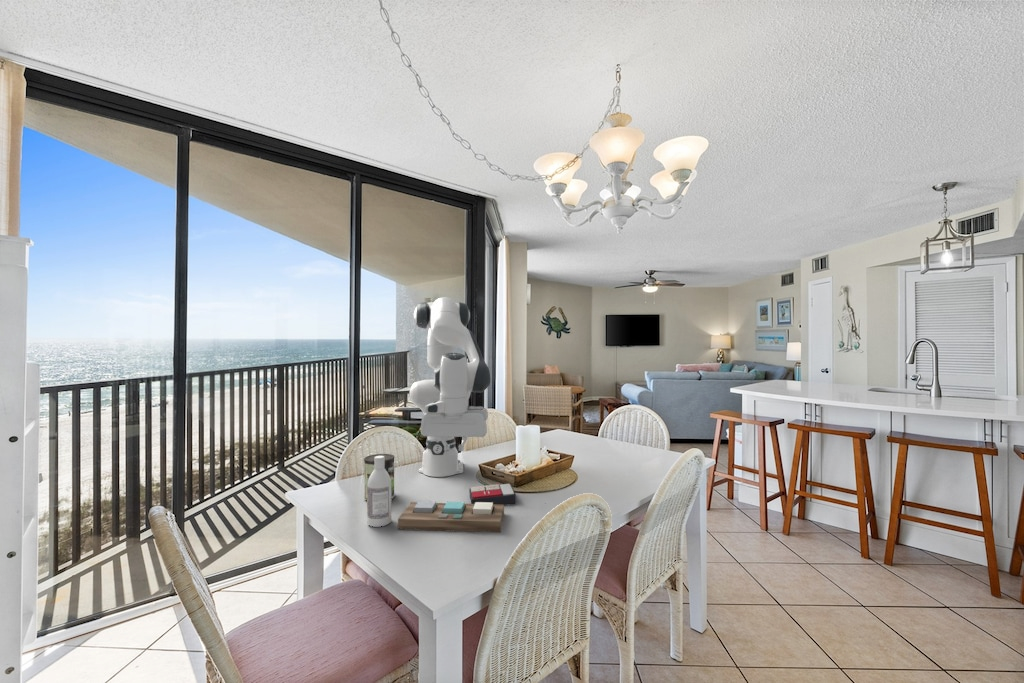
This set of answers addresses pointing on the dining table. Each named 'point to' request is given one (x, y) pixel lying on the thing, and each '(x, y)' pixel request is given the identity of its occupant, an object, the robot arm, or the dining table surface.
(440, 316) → the robot arm
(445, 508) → the teal key
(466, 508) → the keypad
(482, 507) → the cream key
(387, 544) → the dining table surface
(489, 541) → the dining table surface
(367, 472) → the coffee can
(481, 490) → the red and black box
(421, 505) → the grey key
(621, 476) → the dining table surface
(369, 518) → the bath foam
